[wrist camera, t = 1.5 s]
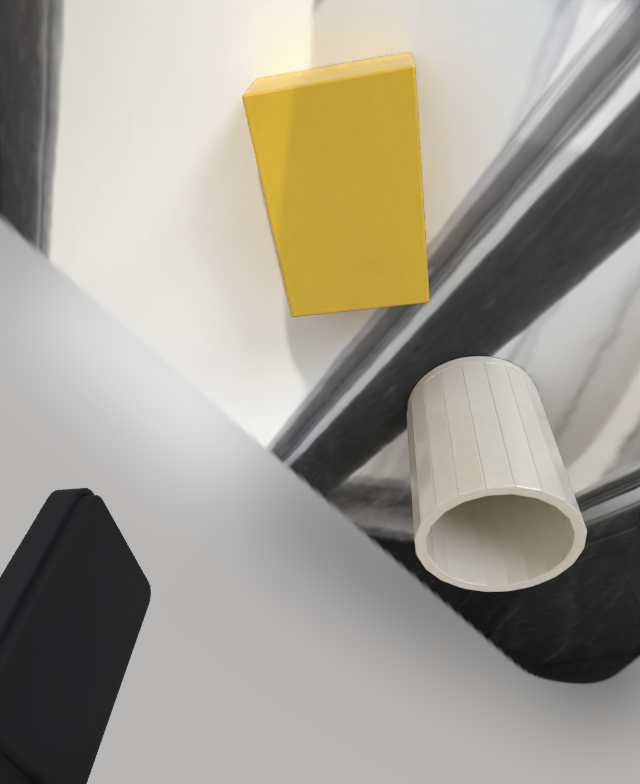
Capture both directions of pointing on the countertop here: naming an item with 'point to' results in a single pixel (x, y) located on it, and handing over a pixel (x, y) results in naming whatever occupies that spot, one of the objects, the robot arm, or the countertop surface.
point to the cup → (488, 479)
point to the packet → (343, 183)
